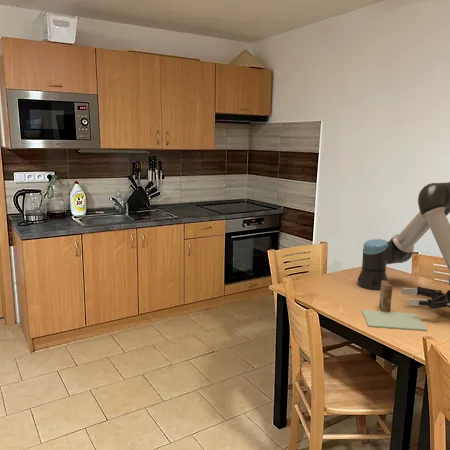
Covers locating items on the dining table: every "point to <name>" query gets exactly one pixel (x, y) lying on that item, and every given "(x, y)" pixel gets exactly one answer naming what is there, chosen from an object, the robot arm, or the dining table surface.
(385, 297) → the slim walnut box
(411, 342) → the dining table surface
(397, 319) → the mat
